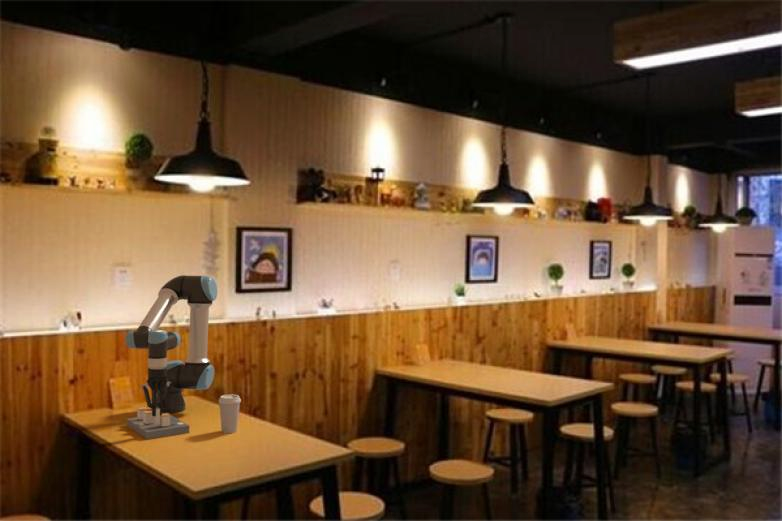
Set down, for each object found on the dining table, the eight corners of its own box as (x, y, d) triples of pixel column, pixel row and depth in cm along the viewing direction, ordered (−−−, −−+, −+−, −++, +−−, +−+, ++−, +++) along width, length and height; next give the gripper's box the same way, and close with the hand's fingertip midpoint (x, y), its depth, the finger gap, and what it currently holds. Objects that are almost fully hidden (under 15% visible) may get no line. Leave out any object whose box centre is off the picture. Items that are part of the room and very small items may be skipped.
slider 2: (166, 423, 293) (167, 413, 293) (169, 425, 290) (170, 414, 290) (159, 424, 291) (159, 414, 291) (162, 426, 288) (162, 415, 288)
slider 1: (144, 417, 303) (144, 406, 303) (147, 418, 300) (147, 408, 300) (137, 418, 301) (137, 407, 301) (139, 419, 298) (139, 409, 298)
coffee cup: (237, 434, 291) (238, 399, 291) (215, 433, 291) (215, 398, 291) (242, 428, 301) (243, 394, 300) (221, 427, 301) (221, 393, 300)
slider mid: (150, 421, 297) (150, 410, 297) (153, 422, 294) (153, 412, 294) (143, 422, 295) (143, 411, 295) (145, 423, 292) (146, 413, 292)
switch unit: (167, 419, 313) (167, 412, 313) (189, 432, 292) (189, 425, 292) (126, 425, 302) (126, 418, 302) (146, 439, 281) (146, 431, 281)
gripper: (169, 364, 295) (169, 419, 296) (138, 367, 287) (138, 423, 288) (175, 367, 289) (175, 423, 290) (144, 370, 281) (144, 427, 282)
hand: (156, 423), depth 289 cm, fingers closed
